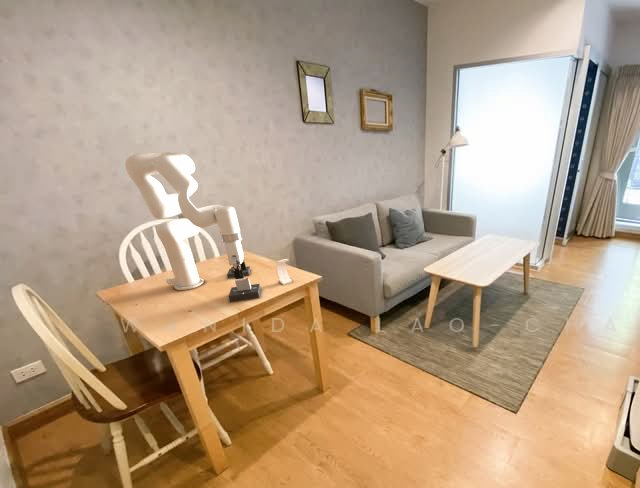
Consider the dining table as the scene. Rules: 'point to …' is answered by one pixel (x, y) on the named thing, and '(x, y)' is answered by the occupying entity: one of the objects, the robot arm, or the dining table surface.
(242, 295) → the device
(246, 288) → the grey rectangular block
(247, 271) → the button block
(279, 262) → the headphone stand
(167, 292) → the dining table surface
